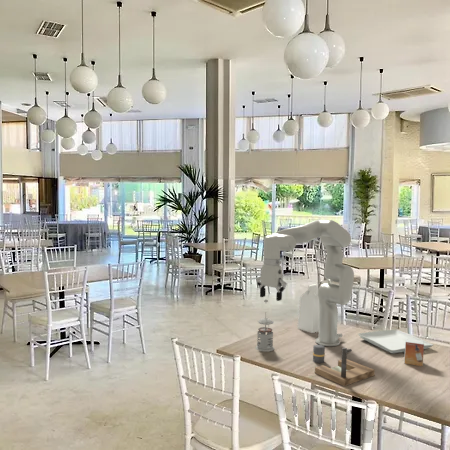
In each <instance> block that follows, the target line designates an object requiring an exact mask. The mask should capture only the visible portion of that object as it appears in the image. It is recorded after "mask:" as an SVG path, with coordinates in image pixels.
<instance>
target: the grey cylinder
mask: <svg viewBox="0 0 450 450" xmlns="http://www.w3.org/2000/svg"><path fill="white" fill-rule="evenodd" d="M325 351H326V347H325V346H323V345H320V344H314V345H313V352H312V362H313V363H316V364H324V363H325V356H326V354H325V353H326V352H325Z"/></svg>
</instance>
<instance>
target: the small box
mask: <svg viewBox="0 0 450 450" xmlns="http://www.w3.org/2000/svg"><path fill="white" fill-rule="evenodd" d="M424 350H425V349H424V341H418V340H410V339H406V341H405V352H404V360H403V361H404V364H406V365H413V366H416V367H417V366H418V367H424V355H425V354H424Z"/></svg>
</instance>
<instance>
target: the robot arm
mask: <svg viewBox="0 0 450 450" xmlns="http://www.w3.org/2000/svg"><path fill="white" fill-rule="evenodd" d="M317 238H319V239H320V242H321V243H322V245H323V246H324V249H325V250H326V256H325V264H324V269H323V276H324V279H326V280H327V281H331V282H335V283H330V282H324V283H322V284H320V286H319V287H318V297H319V332H318V337H316V338H315V339H314V340H315V343H317V344H316V345H322V346H324V347H325V346H326V347H336V346H339V345H340V344H341V342H340V340H339V338H342V337H343V333H341V332H340V333H338V322H339V321H338V318H339V317H338V316H339V310H338V305H340V306H346V305H347V304H348V303H350V301H351V298H352V294H353V293H352V292H353V288H354V281H355V280H354V279H355V273H354V269H353V268H352V266H350V265H348V264H343V259H344V253H343V250H342V248H347V247H348V246H349V245H350V244H351V241H352V236H351V234H350V232H349V231H348V230H347V229H345V227H344V226H342V225H340V224H339V223H338V222H337V221H335V220H333V219H320V218H319V219H315V220H313V221H310V222H307V223H304V224H302V225H299V226H294V227H291V228H285V229H281V230H277V231H275V232H272V234H271V235H270V234H269V235H266V236H264V238H263V263H262V266H261V272H260V276H258V277H256V279H255V280H256V284H257V286H258V288H259V297H260V298H264V297H266V287H270V288H275V289H276V293H275V294H276V296H275V297H276V302H278V301H279V302H280V301H282V300H283V299H282V298H283V292H284V291H285V289H286V288H287V286H288V283H287V282H286V281H284V279H283V277H284V275H283V269H282V268H283V267H282V265H281V264H282V261H281V251H284V252H291V251H292V250H294V249H295V248H296V247H297V244H302V243H309V242H310V241H313V240H316V239H317ZM336 283H338V284H336Z"/></svg>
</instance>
